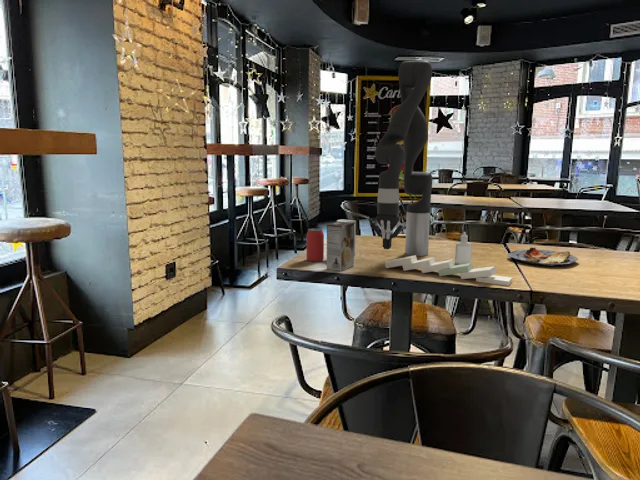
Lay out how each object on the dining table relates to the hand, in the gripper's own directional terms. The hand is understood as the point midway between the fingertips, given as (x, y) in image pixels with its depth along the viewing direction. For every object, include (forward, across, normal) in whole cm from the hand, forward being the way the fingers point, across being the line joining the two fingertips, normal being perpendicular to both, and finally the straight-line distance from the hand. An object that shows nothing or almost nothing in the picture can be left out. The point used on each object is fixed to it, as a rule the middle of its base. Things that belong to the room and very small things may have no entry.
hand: (386, 248), depth 177 cm
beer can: (+7, +27, +6) cm, 28 cm away
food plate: (+7, -46, -43) cm, 63 cm away
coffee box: (+7, +13, +11) cm, 18 cm away
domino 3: (+6, -14, 0) cm, 15 cm away
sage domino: (+6, -20, 0) cm, 21 cm away
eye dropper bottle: (+7, -22, -20) cm, 30 cm away
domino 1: (+6, -1, 0) cm, 6 cm away
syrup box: (+7, +21, -7) cm, 23 cm away
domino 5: (+6, -33, 0) cm, 34 cm away
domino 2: (+6, -8, 0) cm, 9 cm away
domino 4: (+5, -28, 0) cm, 29 cm away
